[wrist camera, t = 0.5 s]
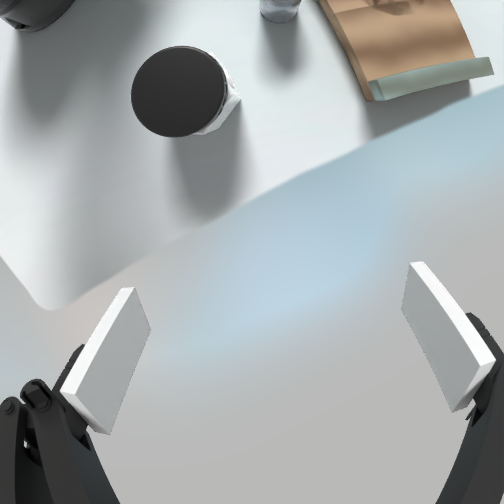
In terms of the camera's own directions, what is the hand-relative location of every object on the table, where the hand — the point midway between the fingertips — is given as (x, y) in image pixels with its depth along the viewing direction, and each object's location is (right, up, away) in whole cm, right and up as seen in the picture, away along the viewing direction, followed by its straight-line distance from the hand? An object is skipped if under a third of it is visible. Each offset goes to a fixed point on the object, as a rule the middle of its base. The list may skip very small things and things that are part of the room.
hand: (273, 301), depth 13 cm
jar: (-7, +21, +18) cm, 28 cm away
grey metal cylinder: (+2, +31, +12) cm, 33 cm away
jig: (+16, +34, +10) cm, 39 cm away
